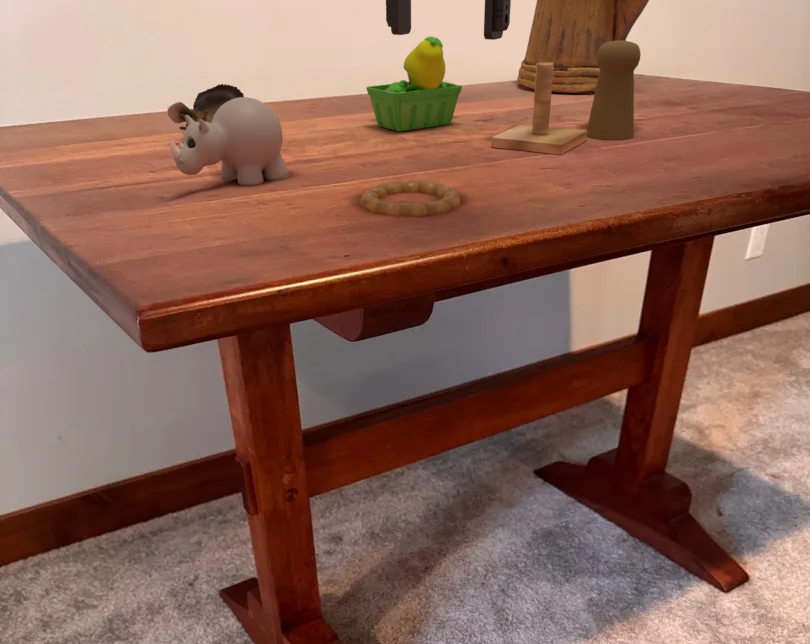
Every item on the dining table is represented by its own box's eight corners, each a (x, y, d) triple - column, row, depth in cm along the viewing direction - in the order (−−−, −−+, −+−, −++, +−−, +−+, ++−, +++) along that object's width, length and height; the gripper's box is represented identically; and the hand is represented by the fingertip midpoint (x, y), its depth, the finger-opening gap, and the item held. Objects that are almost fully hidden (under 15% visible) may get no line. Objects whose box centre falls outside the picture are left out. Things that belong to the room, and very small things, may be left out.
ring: (476, 203, 76) (476, 186, 75) (430, 229, 69) (430, 211, 68) (393, 191, 80) (393, 175, 79) (342, 215, 73) (341, 197, 72)
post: (586, 140, 100) (594, 60, 95) (561, 154, 93) (568, 70, 88) (519, 133, 104) (524, 57, 99) (490, 147, 97) (494, 65, 92)
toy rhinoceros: (162, 191, 81) (147, 103, 77) (264, 172, 88) (256, 89, 83) (194, 206, 76) (180, 113, 72) (300, 184, 83) (293, 97, 78)
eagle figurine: (229, 139, 97) (261, 112, 103) (189, 88, 94) (224, 63, 101) (191, 169, 101) (224, 141, 108) (152, 120, 99) (188, 95, 105)
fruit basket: (430, 116, 115) (430, 30, 109) (470, 125, 109) (472, 34, 103) (364, 126, 109) (361, 35, 104) (402, 136, 103) (401, 41, 97)
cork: (585, 139, 100) (595, 43, 95) (585, 129, 105) (594, 38, 100) (635, 140, 99) (647, 43, 94) (632, 130, 105) (643, 38, 99)
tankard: (555, 75, 149) (568, -81, 136) (672, 88, 135) (698, -86, 122) (496, 87, 138) (504, -83, 125) (617, 102, 124) (639, -88, 111)
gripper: (338, -209, 58) (348, 37, 66) (520, -230, 51) (507, 45, 60) (391, -196, 63) (395, 29, 71) (562, -213, 57) (544, 36, 65)
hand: (446, 36), depth 65 cm, fingers open, 8 cm apart
